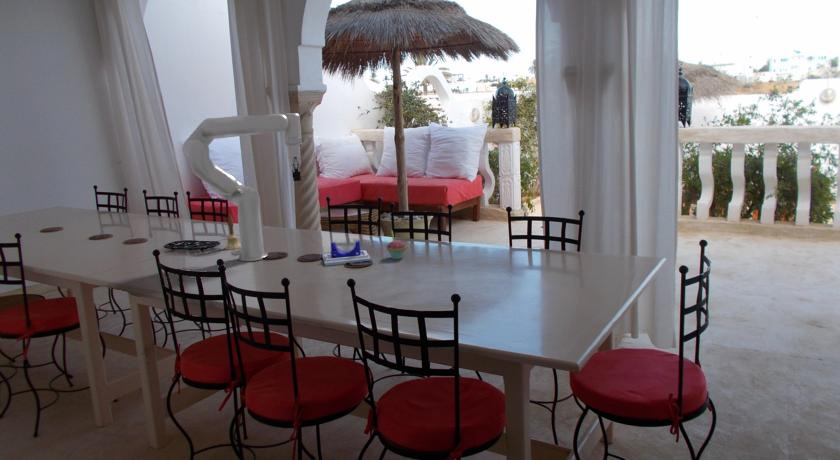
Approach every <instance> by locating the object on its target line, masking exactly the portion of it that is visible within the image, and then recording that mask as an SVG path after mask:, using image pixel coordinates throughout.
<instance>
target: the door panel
mask: <svg viewBox="0 0 840 460" xmlns="http://www.w3.org/2000/svg"><path fill="white" fill-rule="evenodd" d="M360 251H361V255H360V256H352V257H342V258H331V253H323V254H321V255H322V256H321V257H322V260H323V262H324V263H323V264H324V266H325V267H330V266H339V265H347V264H346V263H349V262H357V261H370V262H372V259H371V258H372V257H371V256H370V255H369V252H367V250H366V249H364V250H363V249H362V250H361V249H360ZM356 254H359V253H358V252H356ZM335 255H336V254H335Z"/></svg>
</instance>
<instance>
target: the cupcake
mask: <svg viewBox="0 0 840 460" xmlns="http://www.w3.org/2000/svg"><path fill="white" fill-rule="evenodd" d="M391 237H392V241H391V242H389V243H388V244H386V250H387V251H388V253H389V255H390V257H391V259H394V260H397V259H398V260H399V259H403V257H404V252H405V251H406V250H407V244H406V243H405V242H404V241H401V240H395V236H394V231H393V230H391Z"/></svg>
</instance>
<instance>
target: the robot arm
mask: <svg viewBox="0 0 840 460" xmlns="http://www.w3.org/2000/svg"><path fill="white" fill-rule="evenodd" d="M301 126H302V125H301V116H300V114H299V113H298V112H297V113H296V112H291V113H290V112H288V113H283V114H282V113H270V114H265V115H263V114H262V115H247V114H246V115H234V116H233V115H232V116H224V117H209V118H205V119H204V120H202V122H201V123H200V124H199V125H198V126H197V127H196V128H195V129H194V130H193V132H192V133H191V134H190V135H189V137H188V138H186V140H185V141H184V143H183V145H182V151H183V154H184V155H185V156H186V157H187V158H188V162H189V163H188V164H189V166H190V168H191V170H192V172H193V173H194V175H195V176H196V177H198V179H200V180H202V181H203V182H204V183H205V184H207V185H208V186H209V187H210V189H211V190H212V191H213V192H215V194H217V195H219V196H220V197H222V198H223V199H225V200H226V201H228V202H230V203H231V204H232V205H235V206H237V223H238V231H239V240H240V244H241V248H239V249H237V250H230V255H231V256H234V257H235V256H236V257H237V256H238V260H239V261H241V262H255V261H256V262H257V261H261V260H264V259H263V258H265V257H267V256H268V257H269V254H268V253H267V252H265V250H264V249H265V248H264V247H265V246H264V240H263V239H264V238H263V230H262V229H263V228H262V222H261V219H262V217H261V197H260V194H259V192H258V191H257V190H256V189H255V188H253V187H250V186H247V185H244V184H243V183H241V182H240V181H238V180H237V179H236V177H235V176H234V175H233V174H231V173H229V172H227V171H226V170H224V169H222V168H221V167H220V166H218V165H217V164H216V163H215V162H213V161H212V160H211V158H210V147H209V146H210V145H211V144H212V143H213V141H214V140H215V139H216V140H217V139H226V138H227V139H228V138H236V137H245V136H252V135H253V136H254V135H261V134H270V133H280V132H283V136H284V145H285V146H287V155H288V157H287V158H288V167H289V168H292V170H291V171H292V173H291V175H292V179H293V182H298V181H299V182H300V181H301V180H302V178H301V171H300V167H301V148H300V145H303V139H302V138H303V136H302V127H301ZM268 257H267V258H268ZM265 259H266V258H265Z"/></svg>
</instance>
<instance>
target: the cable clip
mask: <svg viewBox="0 0 840 460" xmlns="http://www.w3.org/2000/svg"><path fill="white" fill-rule="evenodd" d="M330 248H331V249H330V250H331V251H330V254H331V258H342V257H352V256H360V255H361V241H360V240H356V241H355V246H354V247H353V248H352V249H351V250H349V251H344V250H341V249H339V248H338V246H337V244H336V241H331V242H330ZM356 252H358V253H359V254H356ZM335 254H336V255H335Z"/></svg>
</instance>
